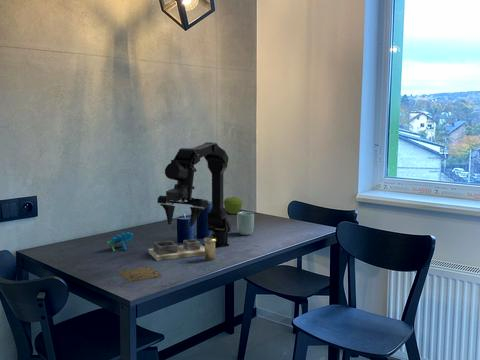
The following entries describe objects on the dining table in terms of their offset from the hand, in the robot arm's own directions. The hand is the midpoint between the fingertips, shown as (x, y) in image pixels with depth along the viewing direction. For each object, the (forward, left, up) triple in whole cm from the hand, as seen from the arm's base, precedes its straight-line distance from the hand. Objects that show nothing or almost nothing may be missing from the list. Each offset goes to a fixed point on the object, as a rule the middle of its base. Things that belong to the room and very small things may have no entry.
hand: (180, 225), depth 173 cm
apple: (-60, -82, -15) cm, 103 cm away
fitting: (-13, -4, -15) cm, 21 cm away
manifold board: (-5, -16, -15) cm, 23 cm away
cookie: (+16, +3, -16) cm, 22 cm away
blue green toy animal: (+15, -32, -15) cm, 38 cm away
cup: (-44, -35, -15) cm, 59 cm away
